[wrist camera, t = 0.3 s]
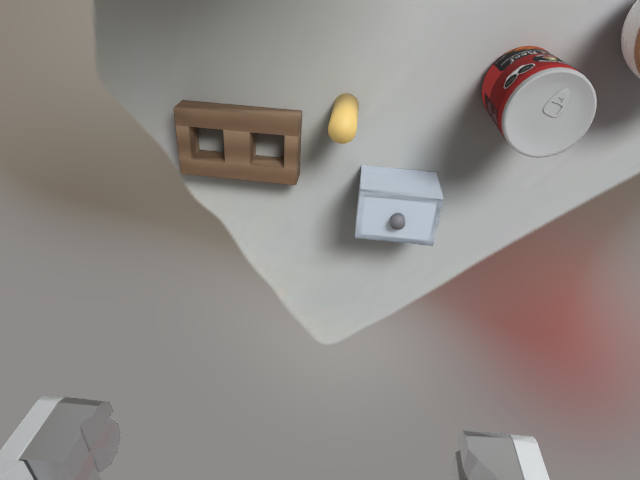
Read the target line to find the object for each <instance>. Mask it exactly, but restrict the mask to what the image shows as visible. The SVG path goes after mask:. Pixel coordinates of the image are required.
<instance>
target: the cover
mask: <svg viewBox="0 0 640 480" xmlns="http://www.w3.org/2000/svg"><path fill="white" fill-rule="evenodd" d="M443 200H444V199H443V195H442V192H441V188H440V184H439V180H438V176H437V173H436V172H427V171H416V170H406V169H395V168H385V167H374V166H364V165H362V166H361V175H360V184H359V192H358V201H357V210H356V225H355V238H362V239H372V240H382V241H391V242H401V243H411V244H420V245H430V246H433V244H434V239H435V235H436V230H437V226H438V222H439V217H440V213H441V208H442V204H443Z"/></svg>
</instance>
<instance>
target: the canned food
mask: <svg viewBox="0 0 640 480" xmlns="http://www.w3.org/2000/svg"><path fill="white" fill-rule="evenodd" d="M482 100H483V103H484V106H485V108H486V110H487V111H488V113H489V115H490V116H491V118H492V119H493V121H494V122H495V124H496V126H497V127H498V129H499V130H500V132H501V133H502V135H503V137H504V138H505V140H506V141H507V142H508V144H509V145H510V146H511V147H512V148H513V149H515V150H516V151H517V152H519V153H521V154H523V155H526V156H529V157H536V158H540V157H548V156H552V155H556V154H558V153H561V152H563V151H565V150H566V149H568V148H570V147H571V146H573V145H574V144H575V143H576V142H577V141H579V140H580V139H581V137H582V136H583V135H584V134H585V133H586V131H587V130H588V128H589V127H590V125H591V123H592V121H593V119H594V116H595V112H596V108H597V98H596V93H595V90H594V88H593V86H592V84H591V83H590V81H589V80H588V79H587V78H586V77H585V76H584V75H583V74H581V73H580V72H579V71H577V70H576V69H574V68H573V67H571V66H569V65H568V64H566V63H565V62H563V61H561V60H560V59H558V58H557V57H555V56H554V55H552V54H550V53H549V52H547V51H546V50H544V49H542V48H539V47H534V46H524V47H519V48H516V49H513V50H511V51H509V52H507V53H505V54H503V55H502V56H501V57H499V58H498V59H497V60H496V61H495V62H494V63H493V64H492V66H491V67H490V69H489V70H488V72H487V74H486V76H485V78H484V82H483V85H482Z"/></svg>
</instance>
